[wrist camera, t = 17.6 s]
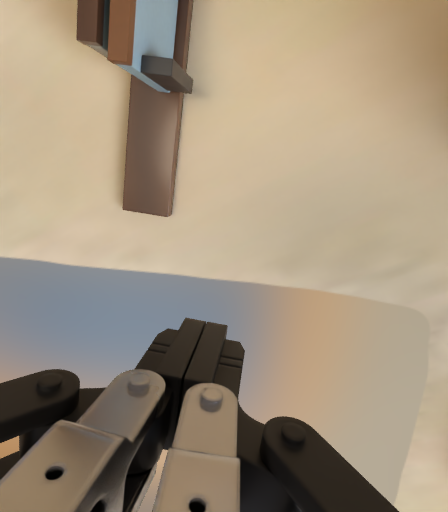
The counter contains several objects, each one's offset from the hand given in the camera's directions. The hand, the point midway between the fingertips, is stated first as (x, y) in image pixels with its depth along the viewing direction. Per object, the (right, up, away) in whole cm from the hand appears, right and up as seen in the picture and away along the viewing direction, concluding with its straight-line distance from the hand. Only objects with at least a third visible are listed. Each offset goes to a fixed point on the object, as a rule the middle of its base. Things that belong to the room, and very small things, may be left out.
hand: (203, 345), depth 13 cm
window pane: (-3, +24, +20) cm, 32 cm away
